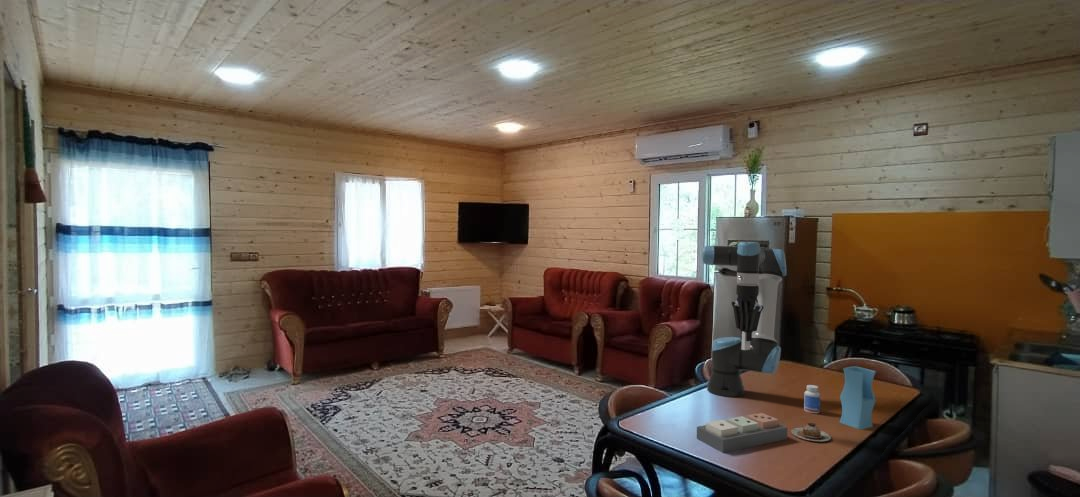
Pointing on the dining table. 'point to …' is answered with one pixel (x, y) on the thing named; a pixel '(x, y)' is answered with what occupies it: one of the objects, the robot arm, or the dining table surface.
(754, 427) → the key
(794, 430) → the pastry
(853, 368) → the vase
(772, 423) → the key
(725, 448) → the keypad
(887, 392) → the dining table surface
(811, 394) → the pill bottle
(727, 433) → the key
